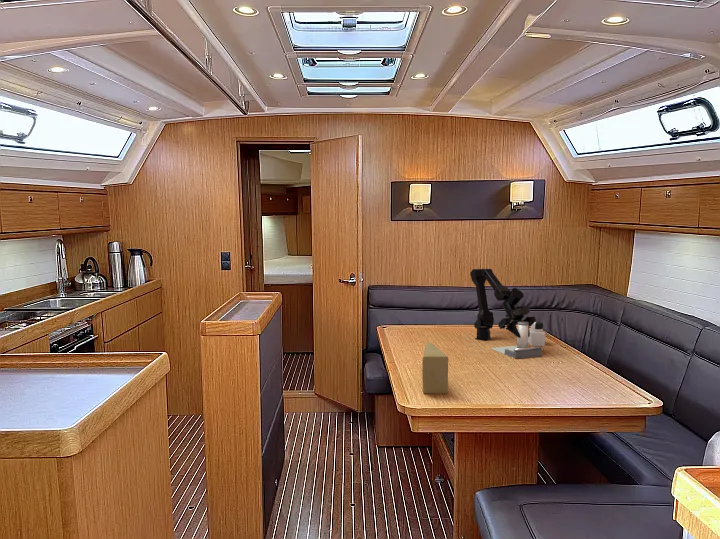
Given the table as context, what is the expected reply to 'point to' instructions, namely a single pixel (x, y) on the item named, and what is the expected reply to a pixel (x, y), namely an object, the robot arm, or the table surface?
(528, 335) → the robot arm
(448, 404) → the table surface
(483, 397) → the table surface
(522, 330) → the grey capped tube
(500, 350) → the sage mat
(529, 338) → the medicine bottle
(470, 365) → the table surface
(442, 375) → the cheese
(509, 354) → the dispenser rack
